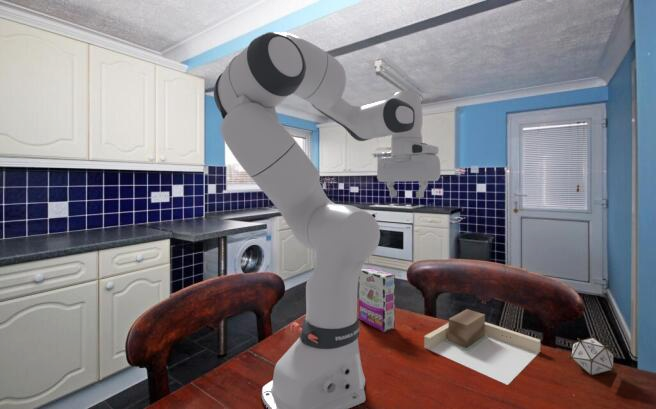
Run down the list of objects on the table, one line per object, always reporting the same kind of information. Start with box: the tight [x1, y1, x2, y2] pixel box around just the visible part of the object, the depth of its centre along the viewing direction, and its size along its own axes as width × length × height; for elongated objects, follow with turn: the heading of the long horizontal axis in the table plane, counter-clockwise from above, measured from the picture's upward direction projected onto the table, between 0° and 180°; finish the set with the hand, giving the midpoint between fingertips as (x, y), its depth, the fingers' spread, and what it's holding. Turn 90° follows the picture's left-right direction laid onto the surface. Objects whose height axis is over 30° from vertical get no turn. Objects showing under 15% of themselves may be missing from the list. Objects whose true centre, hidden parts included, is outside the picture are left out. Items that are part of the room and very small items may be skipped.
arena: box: [423, 321, 541, 386], centre depth 80 cm, size 20×20×4 cm
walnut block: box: [448, 308, 486, 348], centre depth 85 cm, size 5×10×6 cm, turn 130°
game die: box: [567, 333, 618, 376], centre depth 71 cm, size 9×8×10 cm
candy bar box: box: [358, 267, 396, 333], centre depth 96 cm, size 11×5×16 cm, turn 36°
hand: (406, 197), depth 93 cm, fingers open, 8 cm apart
